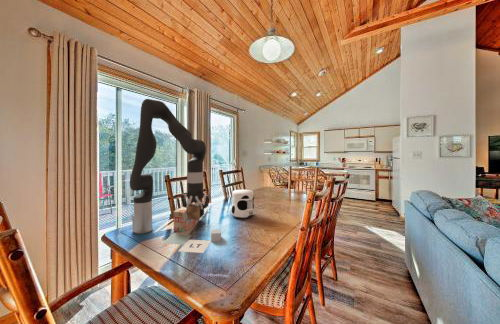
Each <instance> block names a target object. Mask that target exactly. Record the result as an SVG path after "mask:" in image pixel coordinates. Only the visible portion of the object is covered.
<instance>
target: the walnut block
mask: <svg viewBox="0 0 500 324" xmlns="http://www.w3.org/2000/svg"><path fill="white" fill-rule="evenodd" d="M200 209H201V208H200V206H199V205H198V203H195V202H194V203H192V204H190V206H187V219H197V220H199V221H200V219H201V218H202V217H200Z"/></svg>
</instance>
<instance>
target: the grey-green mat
mask: <svg viewBox="0 0 500 324" xmlns="http://www.w3.org/2000/svg"><path fill="white" fill-rule="evenodd" d="M191 237H192V234H181V233H180V234H179V233H172V234H170V236H169V237H167V238H166V239H165V240H164V241H163V242H162V244H165V245H167V244H168V245H169V244H170V245H184V244H185V243H186V242H187V241H188V240H190V238H191Z"/></svg>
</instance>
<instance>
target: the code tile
mask: <svg viewBox="0 0 500 324" xmlns="http://www.w3.org/2000/svg"><path fill="white" fill-rule="evenodd" d="M211 243H212V242H211V240H204V239H203V240H202V239H188V240H187V241H186V242H185V243H184V244H183V246H181V247H180V249H178V252H180V253H181V252H185V253H197V254H198V253H199V254H204V253H205V252H206V250H207V249H208V246H209V245H210V244H211Z"/></svg>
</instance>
